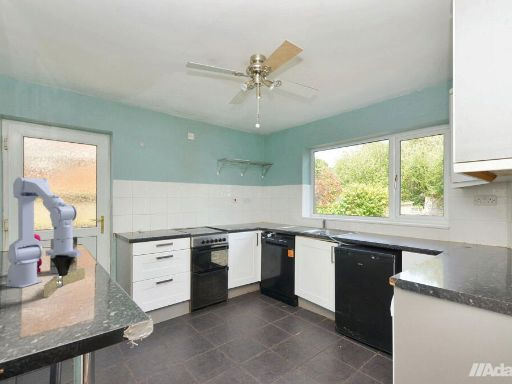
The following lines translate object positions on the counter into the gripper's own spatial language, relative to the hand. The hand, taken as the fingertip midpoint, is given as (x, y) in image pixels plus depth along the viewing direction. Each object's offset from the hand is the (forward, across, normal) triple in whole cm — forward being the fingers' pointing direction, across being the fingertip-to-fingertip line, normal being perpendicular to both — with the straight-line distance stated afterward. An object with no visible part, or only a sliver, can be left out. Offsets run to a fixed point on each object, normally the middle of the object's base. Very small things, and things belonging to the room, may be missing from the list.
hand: (63, 275), depth 95 cm
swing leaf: (+6, -7, +1) cm, 9 cm away
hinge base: (+7, -10, +11) cm, 16 cm away
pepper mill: (+7, -42, +18) cm, 46 cm away
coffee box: (+7, -30, +24) cm, 39 cm away
